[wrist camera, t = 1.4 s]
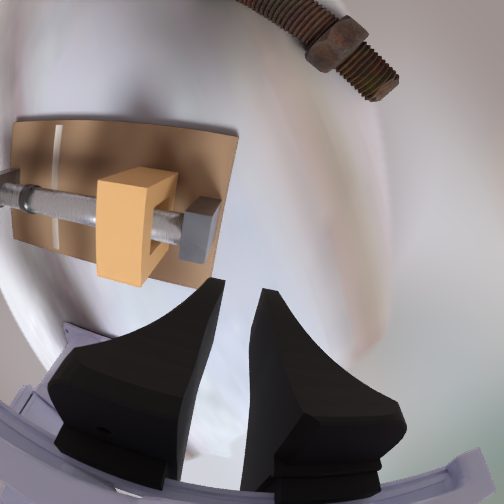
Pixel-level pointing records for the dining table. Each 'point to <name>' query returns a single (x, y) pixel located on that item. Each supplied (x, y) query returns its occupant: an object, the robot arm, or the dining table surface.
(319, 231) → the dining table surface
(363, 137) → the dining table surface
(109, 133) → the board
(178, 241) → the rail
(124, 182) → the collar
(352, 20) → the bolt
